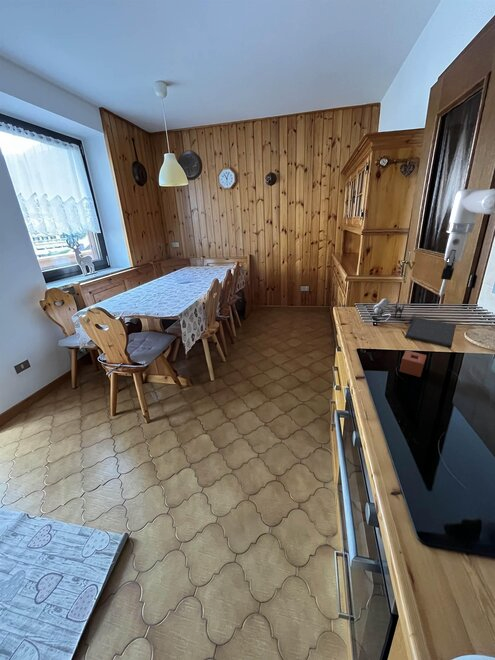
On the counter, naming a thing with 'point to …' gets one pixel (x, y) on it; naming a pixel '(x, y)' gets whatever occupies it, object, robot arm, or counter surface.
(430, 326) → the plate
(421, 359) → the reddish-brown block
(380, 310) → the clip-on lamp
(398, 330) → the counter surface
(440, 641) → the counter surface
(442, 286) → the stylus
